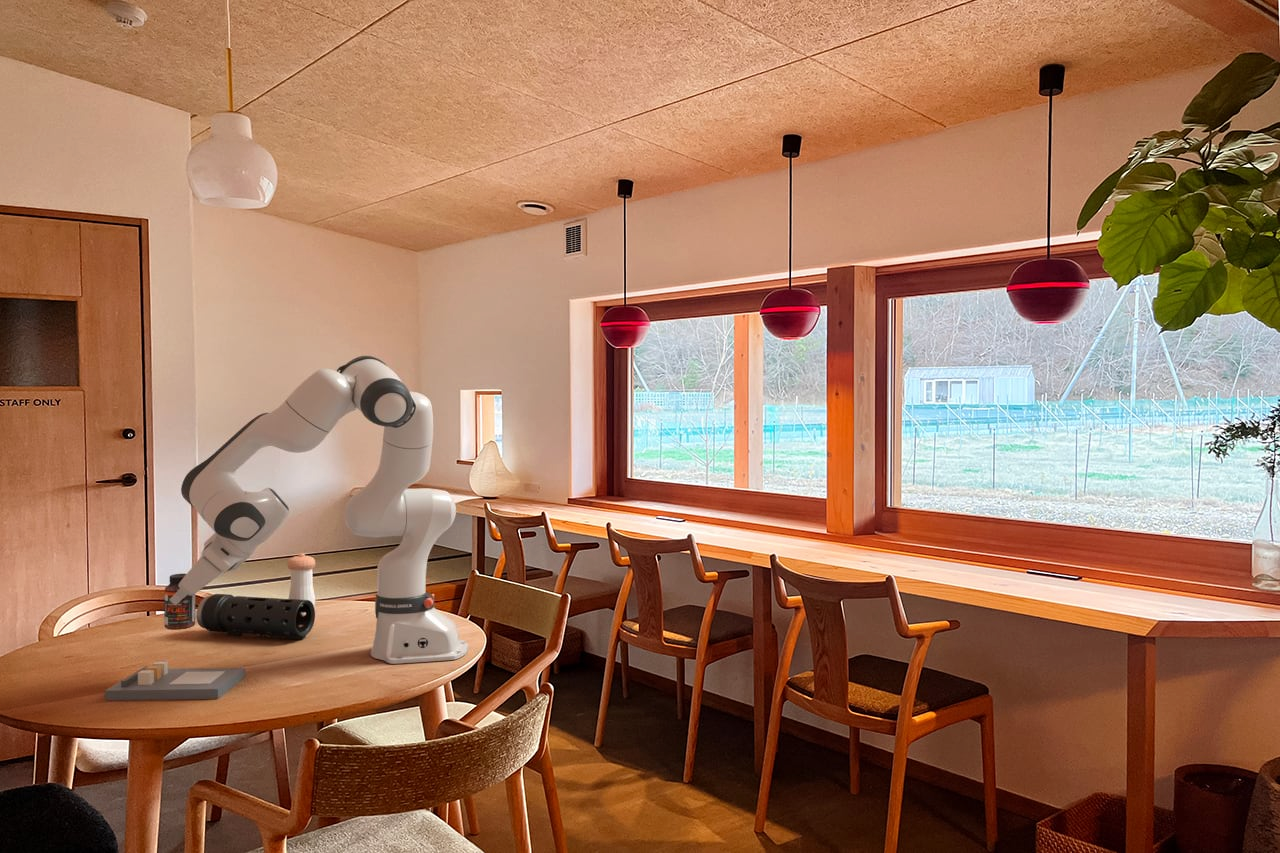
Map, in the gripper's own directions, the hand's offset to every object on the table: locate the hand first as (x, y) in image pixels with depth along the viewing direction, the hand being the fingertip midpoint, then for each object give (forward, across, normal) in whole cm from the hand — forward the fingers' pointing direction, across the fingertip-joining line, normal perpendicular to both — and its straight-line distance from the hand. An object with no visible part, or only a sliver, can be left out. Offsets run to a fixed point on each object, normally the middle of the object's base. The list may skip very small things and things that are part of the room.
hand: (176, 598), depth 190 cm
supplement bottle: (+4, 0, +5) cm, 7 cm away
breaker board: (+11, +7, +13) cm, 19 cm away
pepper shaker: (-3, -40, +28) cm, 49 cm away
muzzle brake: (+4, -31, +20) cm, 38 cm away
